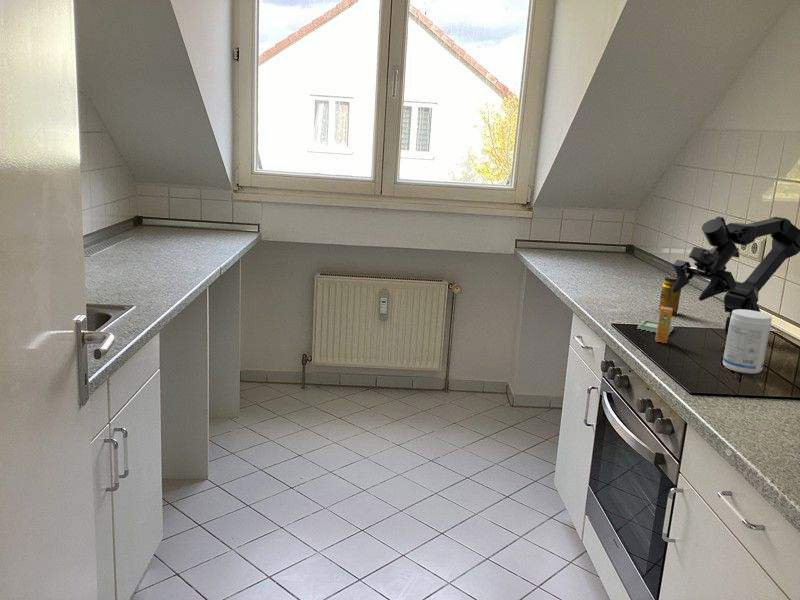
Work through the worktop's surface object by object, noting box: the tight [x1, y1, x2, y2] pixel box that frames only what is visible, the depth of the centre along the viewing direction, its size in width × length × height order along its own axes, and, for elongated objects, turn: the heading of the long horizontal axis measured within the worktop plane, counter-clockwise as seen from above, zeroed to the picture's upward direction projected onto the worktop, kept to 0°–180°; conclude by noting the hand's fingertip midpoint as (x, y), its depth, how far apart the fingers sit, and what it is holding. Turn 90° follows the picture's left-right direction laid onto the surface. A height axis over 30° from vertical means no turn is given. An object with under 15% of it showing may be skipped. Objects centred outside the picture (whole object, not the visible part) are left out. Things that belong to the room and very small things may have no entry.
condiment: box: [658, 276, 687, 317], centre depth 251 cm, size 7×8×12 cm
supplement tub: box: [722, 309, 773, 375], centre depth 192 cm, size 10×10×15 cm
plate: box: [636, 319, 675, 336], centre depth 227 cm, size 9×9×2 cm
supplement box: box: [654, 306, 673, 344], centre depth 212 cm, size 3×3×10 cm
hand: (686, 295), depth 214 cm, fingers open, 9 cm apart
